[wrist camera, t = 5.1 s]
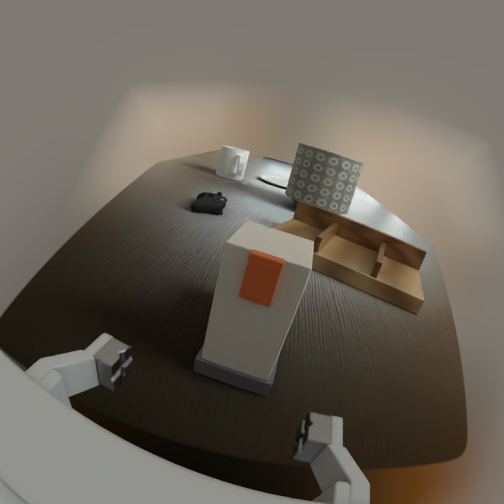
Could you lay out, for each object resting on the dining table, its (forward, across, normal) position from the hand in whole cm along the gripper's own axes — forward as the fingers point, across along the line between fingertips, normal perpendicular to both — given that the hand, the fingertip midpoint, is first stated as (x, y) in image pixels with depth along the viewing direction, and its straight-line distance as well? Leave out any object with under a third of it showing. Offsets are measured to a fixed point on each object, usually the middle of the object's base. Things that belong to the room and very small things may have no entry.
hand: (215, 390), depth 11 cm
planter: (+77, -5, +7) cm, 78 cm away
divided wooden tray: (+41, -12, +7) cm, 43 cm away
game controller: (+49, +17, +8) cm, 52 cm away
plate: (+112, +9, +7) cm, 112 cm away
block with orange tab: (+13, 0, +7) cm, 15 cm away
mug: (+95, +27, +7) cm, 99 cm away
